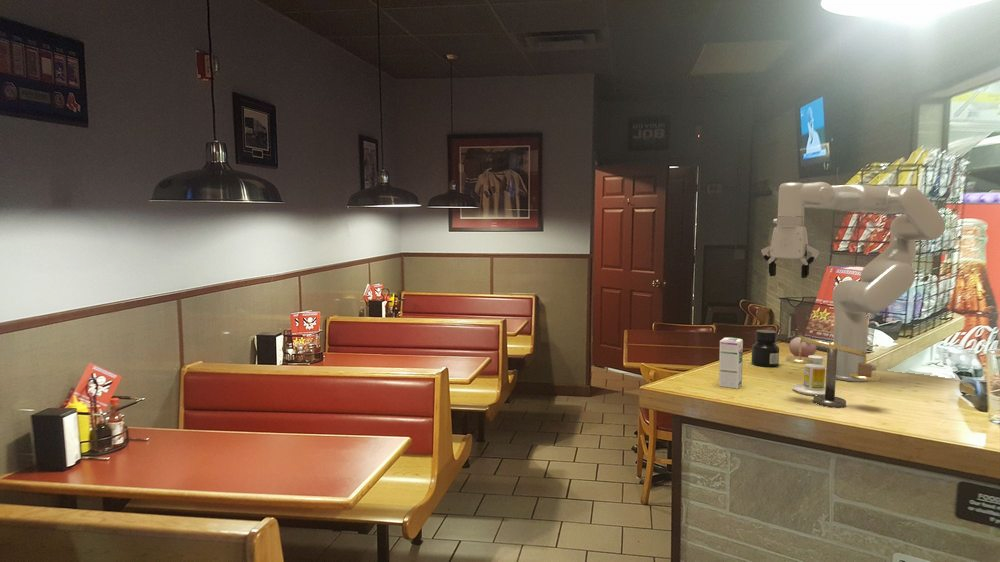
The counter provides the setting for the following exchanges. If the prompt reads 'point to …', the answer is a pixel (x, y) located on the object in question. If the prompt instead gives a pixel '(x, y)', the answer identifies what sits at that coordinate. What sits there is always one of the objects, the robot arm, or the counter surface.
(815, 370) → the supplement bottle
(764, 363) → the ink bottle
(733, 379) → the syrup box
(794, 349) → the decorative fruit
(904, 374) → the counter surface
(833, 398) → the balance
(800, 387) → the dish
